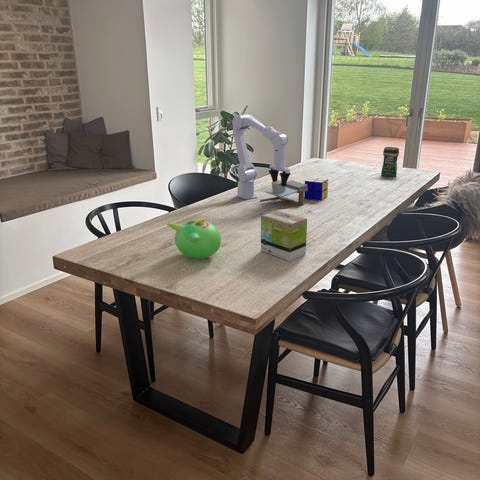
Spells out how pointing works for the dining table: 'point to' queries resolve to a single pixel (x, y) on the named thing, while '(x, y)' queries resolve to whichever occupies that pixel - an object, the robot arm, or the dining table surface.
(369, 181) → the dining table surface
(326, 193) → the puzzle cube
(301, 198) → the frame
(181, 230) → the toy bird
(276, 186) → the grey cube
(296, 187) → the trapdoor
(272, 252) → the tea box
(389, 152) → the coffee jar
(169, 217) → the dining table surface
